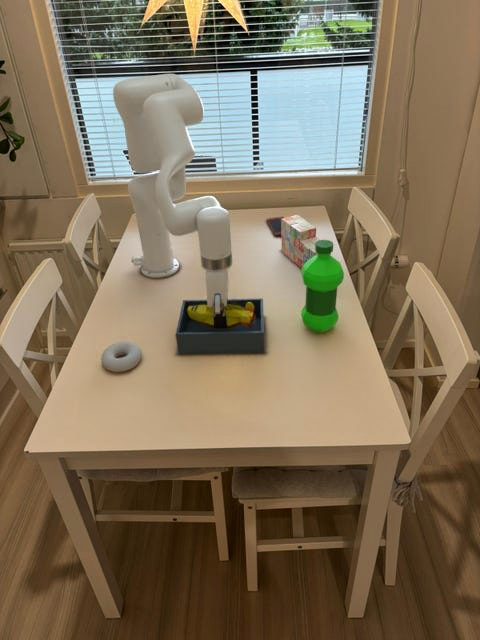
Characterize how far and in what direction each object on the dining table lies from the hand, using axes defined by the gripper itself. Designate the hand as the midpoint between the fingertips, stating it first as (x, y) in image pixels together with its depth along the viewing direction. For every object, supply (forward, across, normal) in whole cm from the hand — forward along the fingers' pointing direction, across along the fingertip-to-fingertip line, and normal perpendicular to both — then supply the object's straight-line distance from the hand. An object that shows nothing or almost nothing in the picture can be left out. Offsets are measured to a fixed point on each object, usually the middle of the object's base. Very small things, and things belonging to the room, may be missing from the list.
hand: (221, 319), depth 125 cm
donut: (+6, +10, -25) cm, 28 cm away
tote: (+5, 0, 0) cm, 5 cm away
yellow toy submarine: (+2, 0, 0) cm, 2 cm away
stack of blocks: (+6, -39, +25) cm, 47 cm away
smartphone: (+5, -66, +18) cm, 69 cm away
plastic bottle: (+6, -3, +26) cm, 27 cm away
